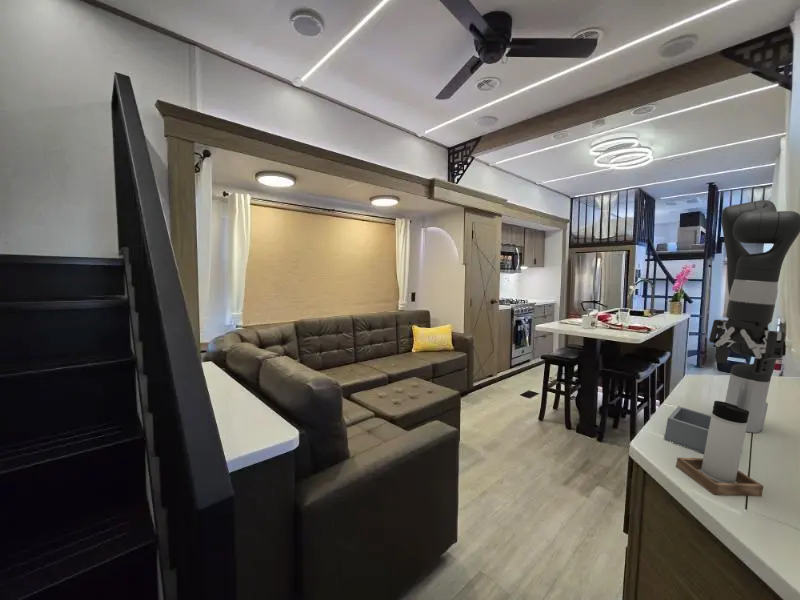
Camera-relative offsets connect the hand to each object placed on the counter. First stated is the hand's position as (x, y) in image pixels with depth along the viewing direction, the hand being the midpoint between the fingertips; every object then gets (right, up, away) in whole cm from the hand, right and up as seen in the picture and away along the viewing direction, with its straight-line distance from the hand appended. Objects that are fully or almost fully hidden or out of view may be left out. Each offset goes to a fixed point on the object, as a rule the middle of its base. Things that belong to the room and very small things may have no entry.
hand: (738, 368), depth 81 cm
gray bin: (+10, -27, +22) cm, 36 cm away
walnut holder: (-1, -29, +4) cm, 29 cm away
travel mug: (-2, -29, +4) cm, 29 cm away
